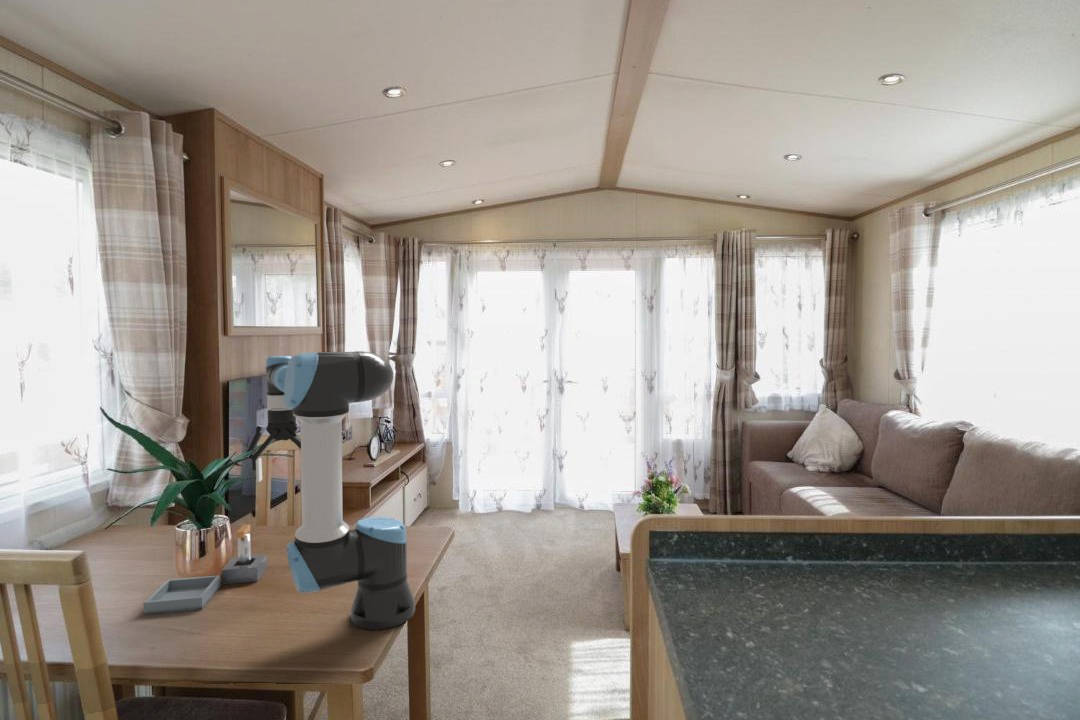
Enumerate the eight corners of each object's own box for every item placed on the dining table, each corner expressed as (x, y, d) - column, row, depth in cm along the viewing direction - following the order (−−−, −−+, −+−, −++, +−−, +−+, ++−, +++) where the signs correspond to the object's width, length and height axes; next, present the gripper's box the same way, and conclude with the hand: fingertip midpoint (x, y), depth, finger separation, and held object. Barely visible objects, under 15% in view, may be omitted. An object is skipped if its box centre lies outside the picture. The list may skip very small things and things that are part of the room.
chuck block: (257, 581, 156) (257, 567, 156) (222, 584, 154) (221, 570, 154) (266, 567, 165) (266, 554, 165) (233, 570, 163) (232, 557, 163)
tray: (202, 609, 141) (201, 597, 141) (144, 614, 138) (143, 602, 138) (221, 585, 153) (220, 575, 153) (168, 590, 151) (167, 579, 151)
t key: (248, 579, 157) (246, 531, 156) (235, 581, 156) (233, 532, 156) (254, 570, 163) (252, 523, 162) (242, 571, 162) (240, 524, 162)
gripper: (328, 405, 171) (330, 474, 173) (240, 407, 167) (243, 478, 169) (323, 409, 164) (325, 481, 165) (231, 411, 160) (233, 485, 161)
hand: (283, 480), depth 167 cm, fingers open, 13 cm apart
